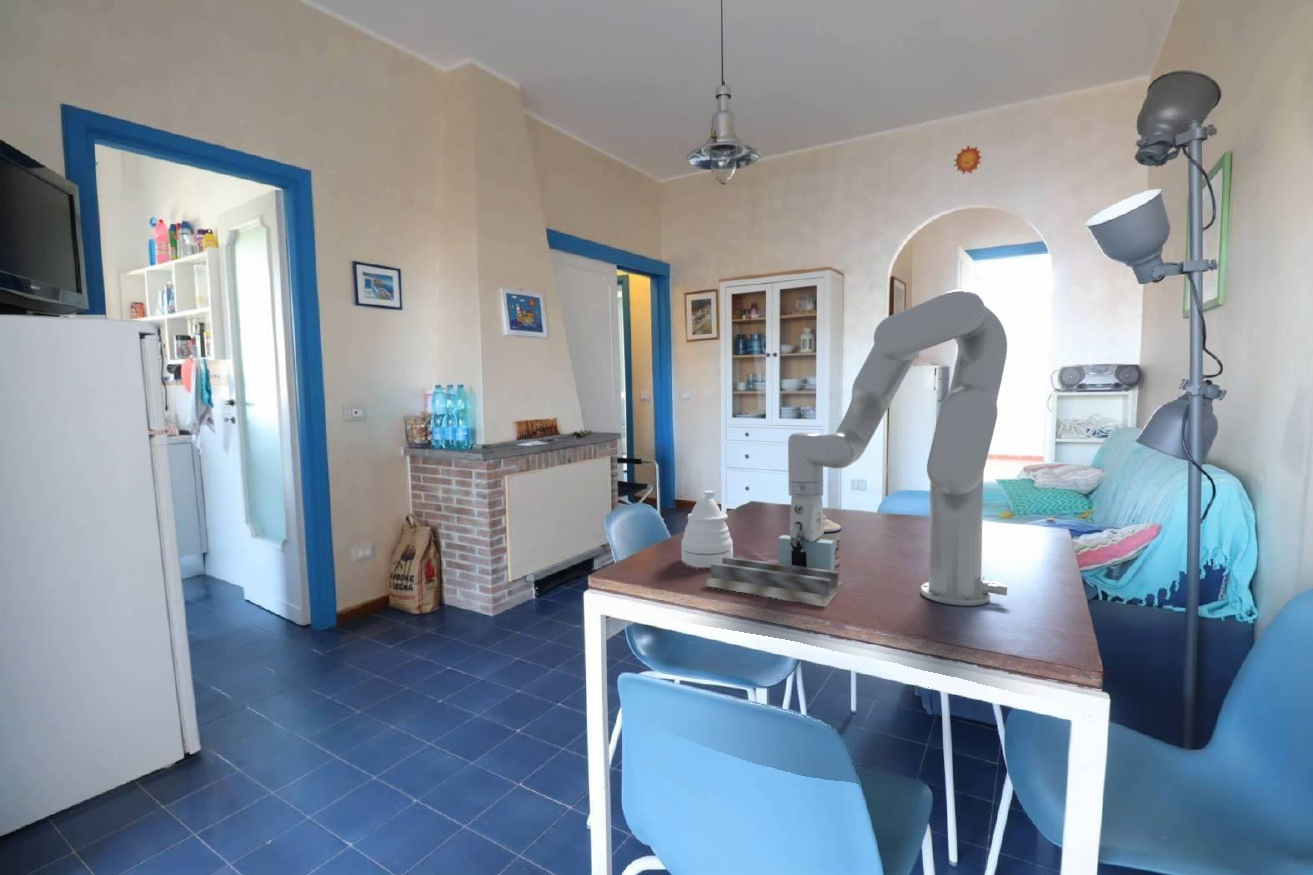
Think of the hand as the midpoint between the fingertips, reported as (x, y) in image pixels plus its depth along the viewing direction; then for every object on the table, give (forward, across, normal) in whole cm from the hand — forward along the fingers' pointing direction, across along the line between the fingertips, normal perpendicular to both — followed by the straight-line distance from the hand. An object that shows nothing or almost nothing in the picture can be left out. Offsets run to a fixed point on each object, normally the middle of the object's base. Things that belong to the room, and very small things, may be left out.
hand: (806, 563), depth 139 cm
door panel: (+3, 0, 0) cm, 3 cm away
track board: (+3, -10, +4) cm, 11 cm away
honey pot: (+4, +2, +26) cm, 26 cm away
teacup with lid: (+4, +15, +1) cm, 15 cm away
